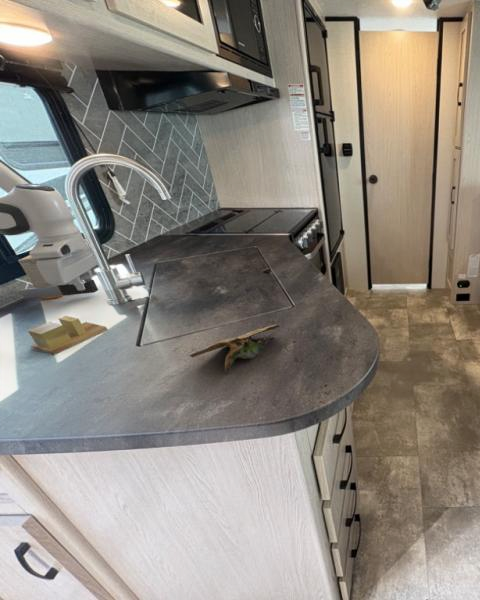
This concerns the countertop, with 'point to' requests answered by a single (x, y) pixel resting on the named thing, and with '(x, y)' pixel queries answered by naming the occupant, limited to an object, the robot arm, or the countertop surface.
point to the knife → (58, 290)
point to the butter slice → (72, 325)
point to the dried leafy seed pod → (239, 347)
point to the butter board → (74, 338)
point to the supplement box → (35, 274)
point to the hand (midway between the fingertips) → (86, 287)
